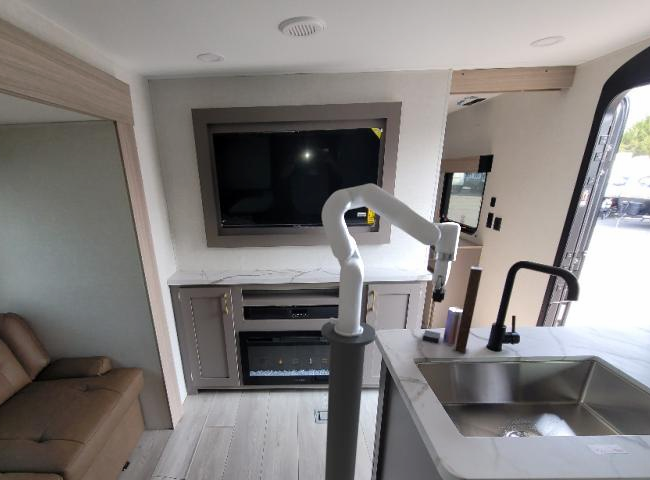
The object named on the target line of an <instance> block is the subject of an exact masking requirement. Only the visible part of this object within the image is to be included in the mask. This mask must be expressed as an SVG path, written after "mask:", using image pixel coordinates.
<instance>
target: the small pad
mask: <svg viewBox="0 0 650 480" xmlns="http://www.w3.org/2000/svg"><path fill="white" fill-rule="evenodd" d="M434 292H435V288H433V291H432V294H431V299H432V300H433V296H434ZM446 292H447V290H446V289H445V290H443V292H442V293H443V296H442V301H444V300H445V298H446Z"/></svg>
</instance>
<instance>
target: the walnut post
mask: <svg viewBox="0 0 650 480" xmlns="http://www.w3.org/2000/svg"><path fill="white" fill-rule="evenodd" d="M483 268H484V267H480V266H474V265H473V266H472V265H471V267H470V272H469V276H468V282H467V287H466V291H465V297H464V301H463V307H462V309H463V312H462V317H461V322H460V327H459V332H458V338H457V343H456V345H455V347H454V352H456V353H460V354H461V353H462V354H466V351H467V345H468V341H469V336H470V333H471V332H470V331H471V327H472V321H473V317H474V311H475V307H476V304H477V297H478V292H479V287H480V284H481V278H482V274H483Z"/></svg>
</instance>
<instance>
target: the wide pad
mask: <svg viewBox="0 0 650 480" xmlns="http://www.w3.org/2000/svg"><path fill="white" fill-rule="evenodd" d="M440 338H441V332H437V331H431V330H426V329H425V330H424V332H423V335H422V342H426V343H432V344H439V341H440Z"/></svg>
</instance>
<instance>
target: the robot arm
mask: <svg viewBox="0 0 650 480" xmlns="http://www.w3.org/2000/svg"><path fill="white" fill-rule="evenodd" d="M362 207H365V208H367V209H368V210H370V211H371V212H373V213H375V214H376V215H378V216H379V217H381V218H382V219H383V220H385V221H387V222H388V223H390V224H391V225H392V226H394V227H396V228H398V229H400V231H403V232H404V233H406V234H407V235H409V236H410V237H411V238H413V239H414V240H416V241H417V242H419V243H421V244H422V245H424V246H433V245H435V248H434V254H433V260H435V264H434V269H433V275H432V280H431V285H432V286H434V285H435V288H434V289H435V292H434V296H433V299H432V302H433V303H439V304H440V303H442V302H443V300H442V296H443V293H442V292H443V290H446V289H445V287H446V285H447V283H448V280H449V276H450V271H451V266H452V262H455V261H456V257H457V250H458V245H459V239H460V238H459V237H460V232H461V226H460V224H459V223H455V222H442V223H439V222H432V221H429V220H427V219H426V218H424V217H423V216H421V215H420V214H419V213H417V212H415V210H413V209H412V208H411V207H410V206H409V205H407V204H406V203H405V202H403V201H402V200H400V199H398V197H396V196H394V195H392V194H391V193H389V192H387V191H386V190H384V188H382V187H380V186H379V185H377V184H375V183H365V184H362V185H356V186H353V187H348V188H342V189H338V190H336V191H334V192H333V193H332V194H331V195H330V196H329V197H328V198H327V200H326V201H325V203H324V205H323V207H322V210H321V221H322V222H321V223H322V226H323V228H324V232H325V235H326V238H327V241H328V243H329V246H330V249H331V252H332V254H333V256H334V257H335V259H337V261H338V263H339V266H340V271H339V289H338V314H337V318H335V317H329V322H330V324H335V327H334V331H335V332H336V333H337V334H339V335H342V336H347V337H354V336H358V335H360V334H362V332H363V328H362V327H361V326H360V321H361V314H362V313H361V311H362V298H363V297H362V296H363V286H364V278H365V277H364V273H365V272H364V271H365V270H364V264H363V260H362V258H361V255H360V252H359V250H358V247H357V243H356V241H355V239H354V238H353V236H351V235H350V233H349V230H348V226H347V224H346V221H345V217H344V216H345V214H346V212H347V211H348V210H353V209H359V208H362Z"/></svg>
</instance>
